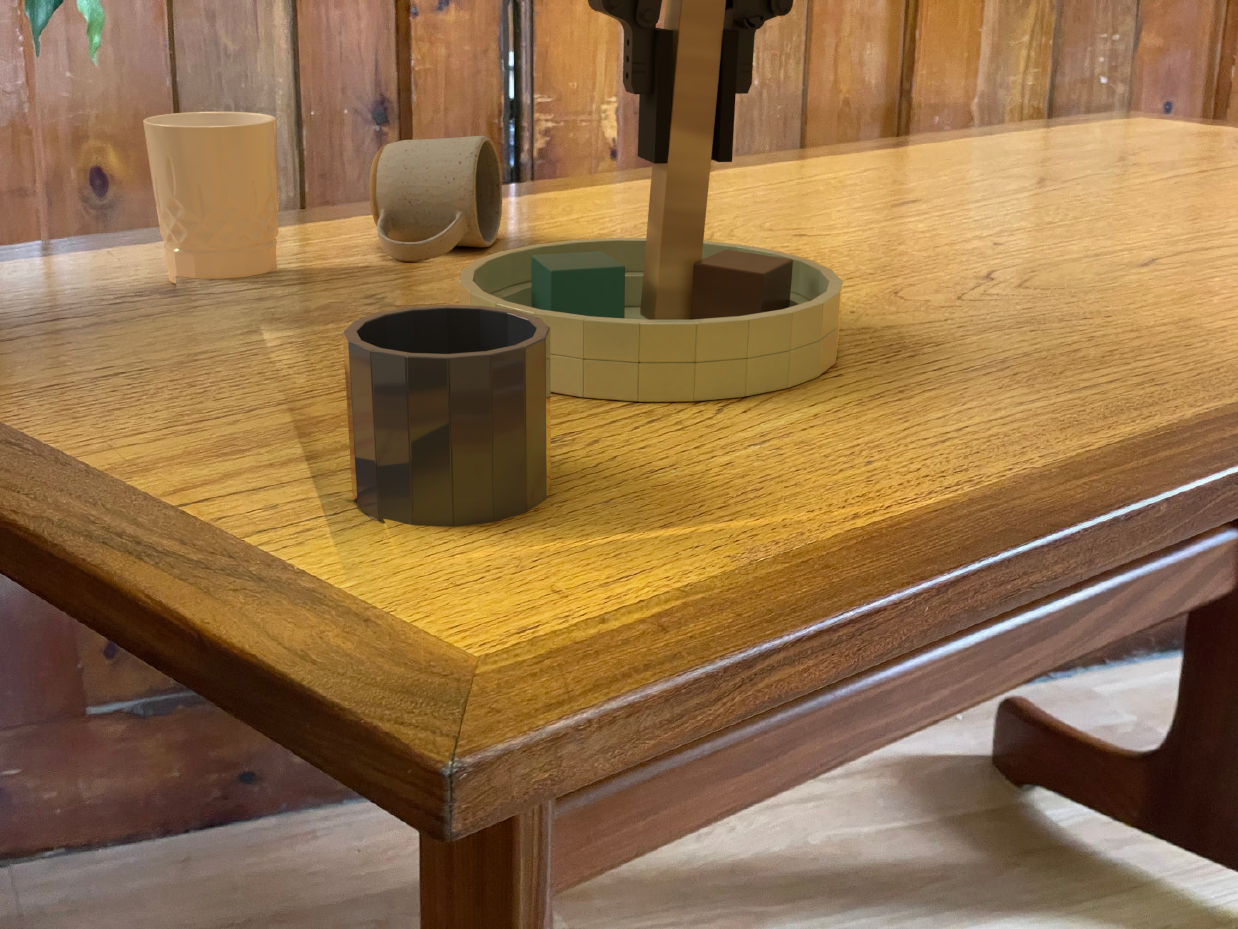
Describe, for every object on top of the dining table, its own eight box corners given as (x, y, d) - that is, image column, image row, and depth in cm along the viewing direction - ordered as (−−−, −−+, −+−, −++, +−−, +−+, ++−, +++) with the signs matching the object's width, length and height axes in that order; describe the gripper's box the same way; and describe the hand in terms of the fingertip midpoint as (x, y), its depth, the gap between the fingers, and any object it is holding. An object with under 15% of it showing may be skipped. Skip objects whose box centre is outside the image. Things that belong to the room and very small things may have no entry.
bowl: (429, 326, 78) (426, 247, 76) (745, 304, 84) (749, 230, 82) (514, 435, 60) (513, 336, 59) (905, 398, 66) (913, 307, 65)
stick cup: (342, 482, 55) (331, 311, 52) (522, 464, 57) (520, 299, 55) (371, 556, 48) (360, 364, 46) (573, 532, 51) (573, 348, 48)
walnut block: (720, 320, 76) (725, 248, 75) (787, 331, 74) (793, 259, 73) (688, 336, 73) (692, 262, 71) (758, 349, 71) (763, 273, 70)
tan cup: (132, 283, 86) (114, 120, 83) (218, 260, 93) (204, 108, 90) (230, 298, 83) (216, 129, 80) (312, 273, 90) (302, 116, 86)
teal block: (531, 327, 75) (530, 254, 73) (601, 322, 76) (602, 250, 74) (551, 346, 71) (551, 270, 70) (624, 341, 72) (625, 266, 71)
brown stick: (639, 314, 75) (671, -78, 69) (680, 315, 76) (715, -73, 70) (653, 323, 73) (688, -81, 67) (696, 324, 73) (733, -76, 68)
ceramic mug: (398, 230, 103) (393, 126, 100) (505, 235, 102) (502, 129, 99) (351, 262, 94) (344, 148, 91) (468, 268, 92) (465, 152, 90)
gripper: (563, -390, 58) (557, 173, 66) (897, -355, 63) (854, 166, 71) (519, -356, 65) (519, 152, 73) (824, -327, 69) (792, 146, 78)
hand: (684, 158), depth 72 cm, fingers closed on brown stick, 3 cm apart
